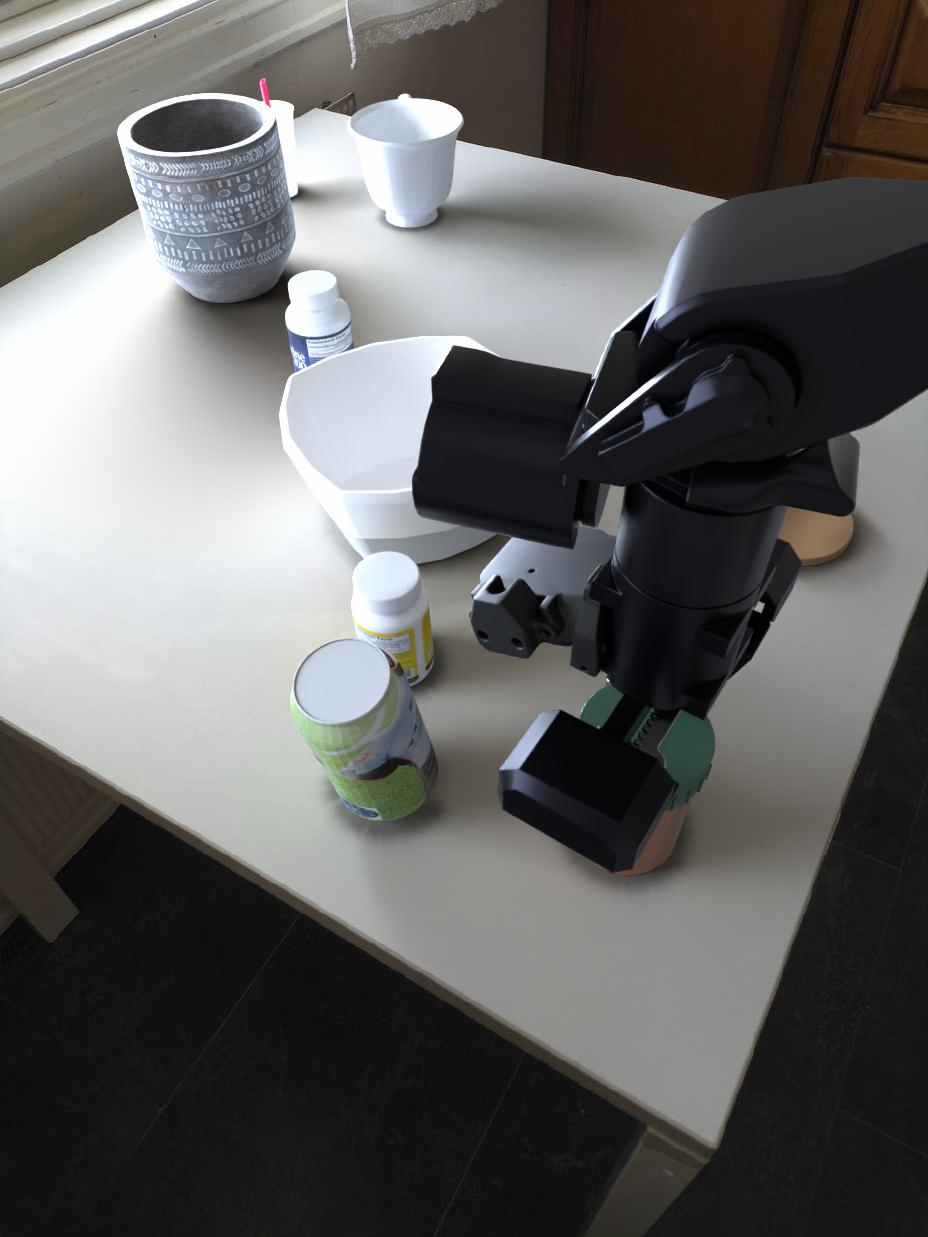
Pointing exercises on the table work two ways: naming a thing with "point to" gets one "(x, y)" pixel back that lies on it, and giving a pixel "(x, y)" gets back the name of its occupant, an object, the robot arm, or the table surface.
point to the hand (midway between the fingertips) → (637, 767)
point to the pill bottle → (317, 319)
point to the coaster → (816, 535)
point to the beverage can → (364, 728)
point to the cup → (284, 136)
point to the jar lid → (667, 744)
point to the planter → (212, 193)
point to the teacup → (407, 156)
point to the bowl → (372, 444)
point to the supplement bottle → (394, 611)
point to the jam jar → (659, 842)
